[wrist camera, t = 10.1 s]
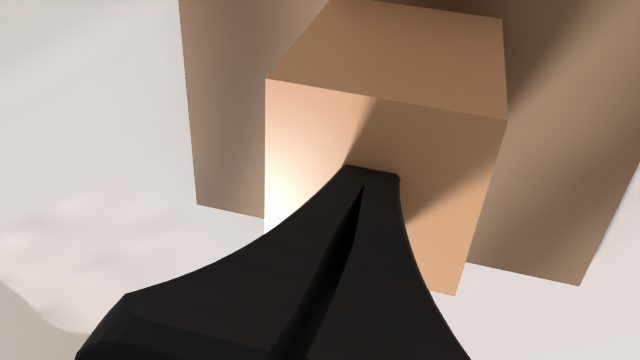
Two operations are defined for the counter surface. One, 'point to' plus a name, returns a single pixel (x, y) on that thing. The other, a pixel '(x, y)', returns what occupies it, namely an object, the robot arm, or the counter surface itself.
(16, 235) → the counter surface
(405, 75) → the tan rectangular block
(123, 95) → the counter surface
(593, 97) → the post board
